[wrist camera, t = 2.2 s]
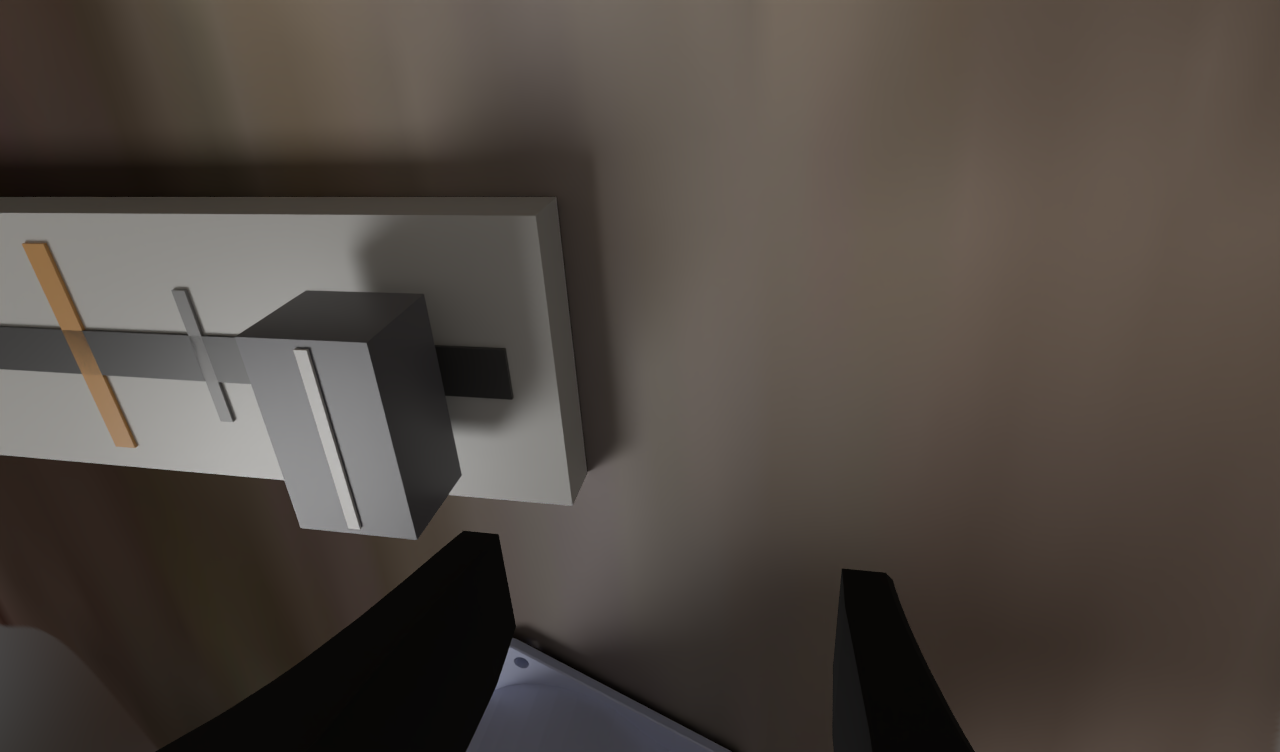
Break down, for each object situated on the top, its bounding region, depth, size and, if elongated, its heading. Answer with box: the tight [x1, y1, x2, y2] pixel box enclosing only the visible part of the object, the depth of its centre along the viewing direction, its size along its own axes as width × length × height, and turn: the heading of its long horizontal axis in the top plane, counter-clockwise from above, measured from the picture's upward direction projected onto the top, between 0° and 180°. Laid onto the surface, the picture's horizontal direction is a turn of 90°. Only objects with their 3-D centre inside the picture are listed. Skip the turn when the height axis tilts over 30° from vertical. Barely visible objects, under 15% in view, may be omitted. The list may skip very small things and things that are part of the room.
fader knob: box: [235, 290, 462, 540], centre depth 18 cm, size 3×5×4 cm, turn 4°
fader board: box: [0, 197, 587, 506], centre depth 21 cm, size 20×8×2 cm, turn 94°
